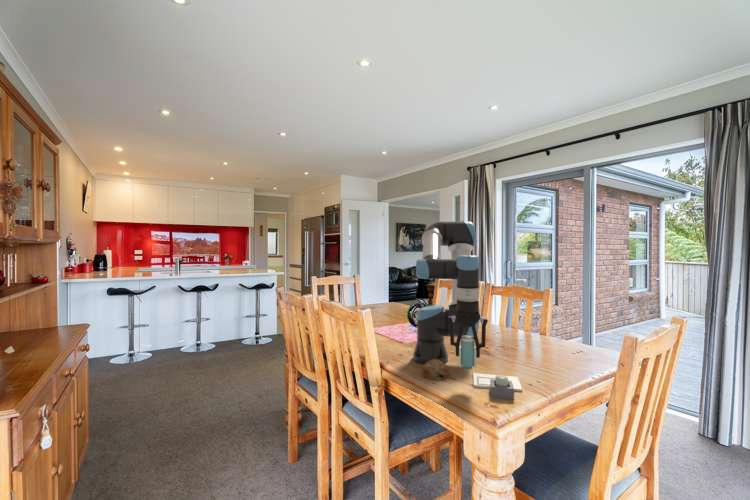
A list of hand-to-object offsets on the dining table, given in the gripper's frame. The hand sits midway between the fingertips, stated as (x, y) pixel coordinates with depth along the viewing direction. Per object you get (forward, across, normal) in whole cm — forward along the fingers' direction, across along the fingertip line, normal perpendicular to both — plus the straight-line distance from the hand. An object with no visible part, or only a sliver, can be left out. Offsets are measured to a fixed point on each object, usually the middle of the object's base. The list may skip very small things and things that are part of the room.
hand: (467, 365), depth 123 cm
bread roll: (+8, -12, +9) cm, 18 cm away
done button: (+6, +11, -3) cm, 13 cm away
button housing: (+8, +11, -3) cm, 14 cm away
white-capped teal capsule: (+1, 0, 0) cm, 1 cm away
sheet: (+8, +10, +7) cm, 15 cm away
